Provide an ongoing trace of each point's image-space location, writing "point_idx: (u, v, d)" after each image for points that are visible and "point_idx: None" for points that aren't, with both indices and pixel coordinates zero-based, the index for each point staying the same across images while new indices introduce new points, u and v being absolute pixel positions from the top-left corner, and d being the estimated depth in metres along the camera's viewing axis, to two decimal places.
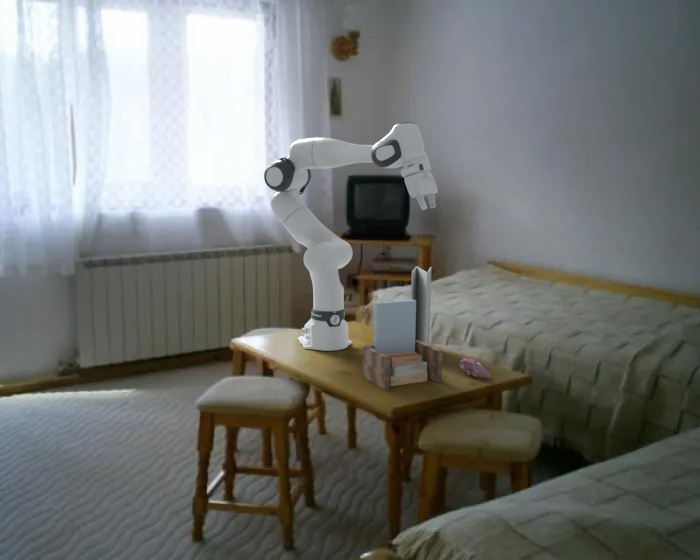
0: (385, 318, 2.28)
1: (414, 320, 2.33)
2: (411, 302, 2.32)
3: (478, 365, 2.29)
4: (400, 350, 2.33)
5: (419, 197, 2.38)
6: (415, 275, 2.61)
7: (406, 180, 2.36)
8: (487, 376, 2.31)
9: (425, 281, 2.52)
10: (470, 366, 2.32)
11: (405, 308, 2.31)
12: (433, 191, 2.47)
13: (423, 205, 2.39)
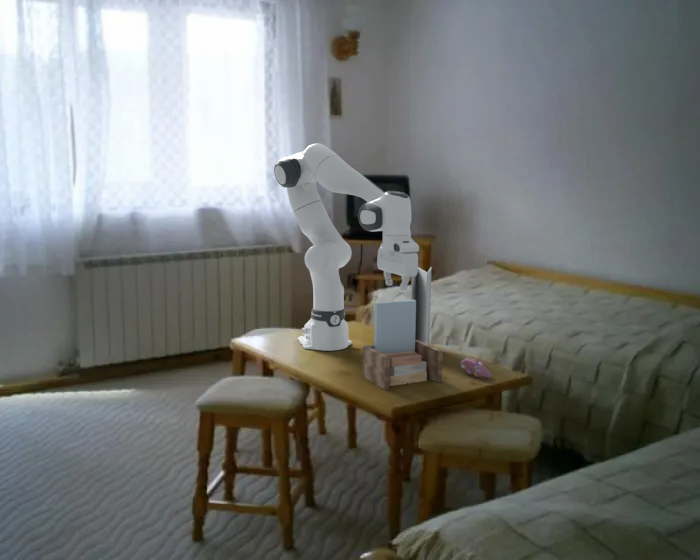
0: (385, 318, 2.28)
1: (414, 320, 2.33)
2: (411, 302, 2.32)
3: (479, 365, 2.30)
4: (400, 350, 2.33)
5: (406, 277, 2.23)
6: None
7: (407, 258, 2.19)
8: (488, 375, 2.31)
9: (425, 281, 2.52)
10: (471, 366, 2.32)
11: (405, 308, 2.31)
12: None
13: (405, 285, 2.24)
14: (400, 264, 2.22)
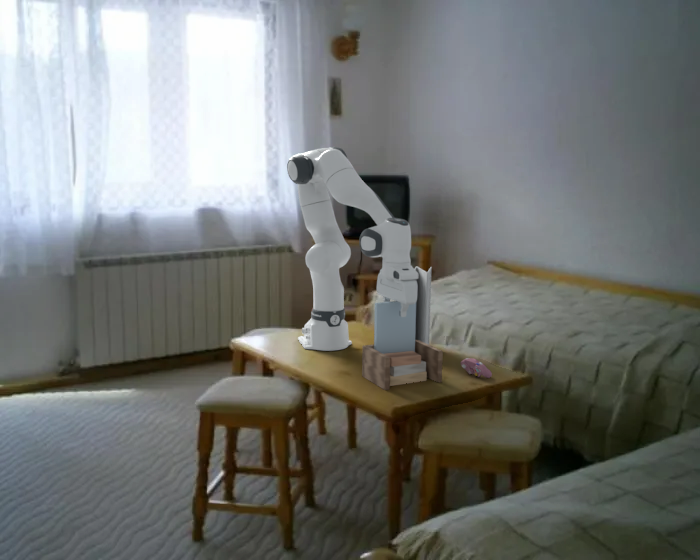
0: (385, 318, 2.28)
1: (414, 320, 2.33)
2: None
3: (480, 365, 2.30)
4: (400, 350, 2.33)
5: None
6: None
7: (406, 285, 2.20)
8: (488, 375, 2.31)
9: (425, 281, 2.52)
10: (472, 366, 2.33)
11: None
12: None
13: (404, 312, 2.26)
14: (399, 291, 2.23)
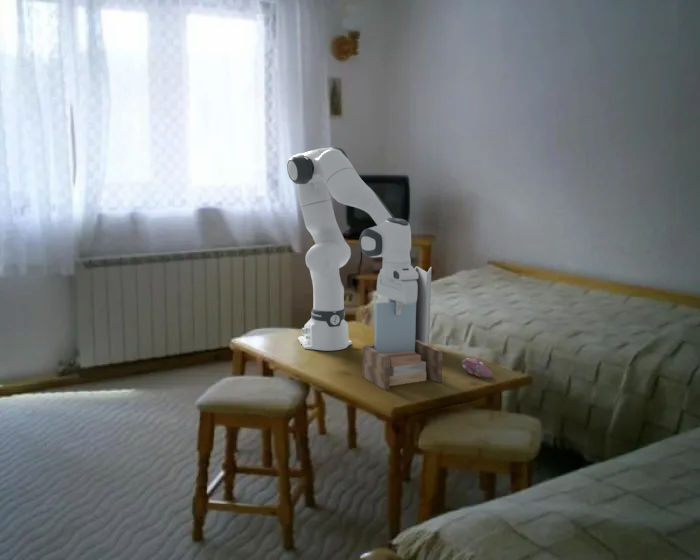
0: (385, 318, 2.28)
1: (414, 320, 2.33)
2: None
3: (480, 364, 2.30)
4: (400, 350, 2.33)
5: (401, 302, 2.27)
6: None
7: (406, 285, 2.20)
8: (489, 375, 2.31)
9: (425, 281, 2.52)
10: (472, 365, 2.33)
11: (405, 308, 2.31)
12: None
13: (399, 310, 2.29)
14: (399, 291, 2.23)
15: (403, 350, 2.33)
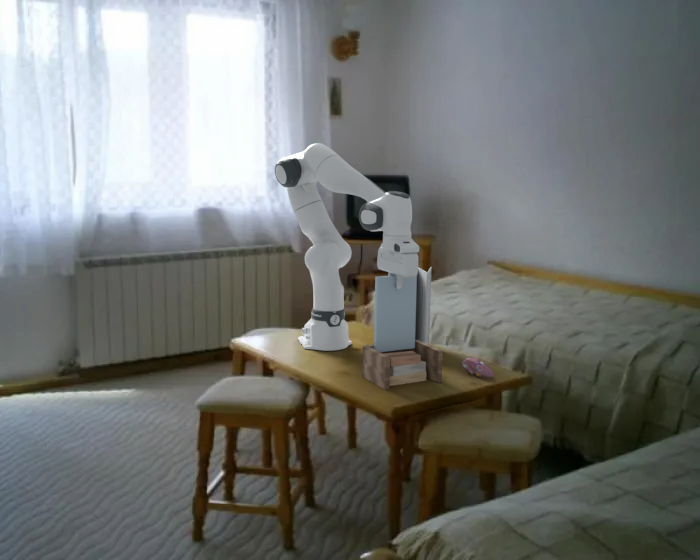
0: (385, 292, 2.27)
1: (415, 294, 2.32)
2: None
3: (481, 364, 2.30)
4: (400, 325, 2.31)
5: (401, 276, 2.26)
6: None
7: (407, 258, 2.19)
8: (490, 375, 2.31)
9: (425, 281, 2.52)
10: (473, 365, 2.33)
11: (406, 282, 2.30)
12: None
13: (400, 284, 2.27)
14: (400, 264, 2.22)
15: (403, 325, 2.32)
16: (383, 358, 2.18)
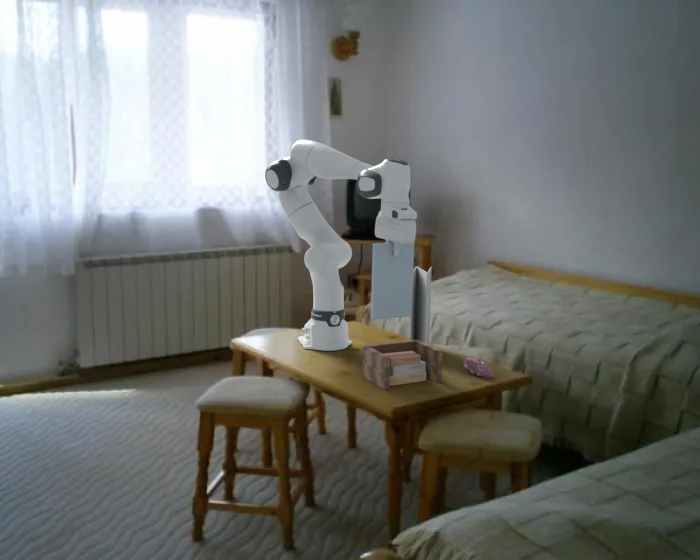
0: (383, 259, 2.28)
1: (412, 262, 2.33)
2: (409, 244, 2.31)
3: (482, 364, 2.30)
4: (397, 292, 2.32)
5: (399, 243, 2.26)
6: (415, 275, 2.61)
7: (405, 224, 2.19)
8: (490, 375, 2.32)
9: (425, 281, 2.52)
10: (474, 365, 2.33)
11: (403, 250, 2.30)
12: None
13: (397, 251, 2.28)
14: (398, 231, 2.23)
15: (400, 292, 2.33)
16: (383, 358, 2.18)
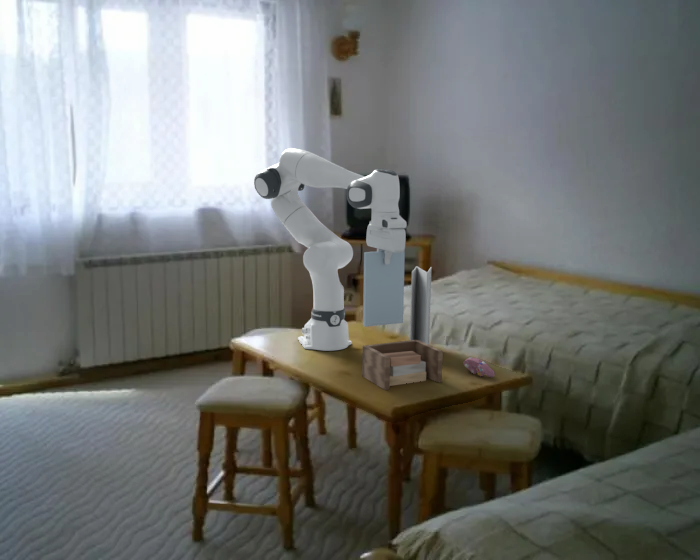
0: (374, 267, 2.33)
1: (403, 270, 2.38)
2: None
3: (483, 364, 2.31)
4: (389, 299, 2.37)
5: (389, 251, 2.32)
6: (415, 275, 2.61)
7: (394, 233, 2.25)
8: (491, 375, 2.32)
9: (425, 281, 2.52)
10: (475, 365, 2.33)
11: (394, 258, 2.36)
12: None
13: (388, 260, 2.33)
14: (388, 240, 2.28)
15: (392, 300, 2.38)
16: (383, 358, 2.18)
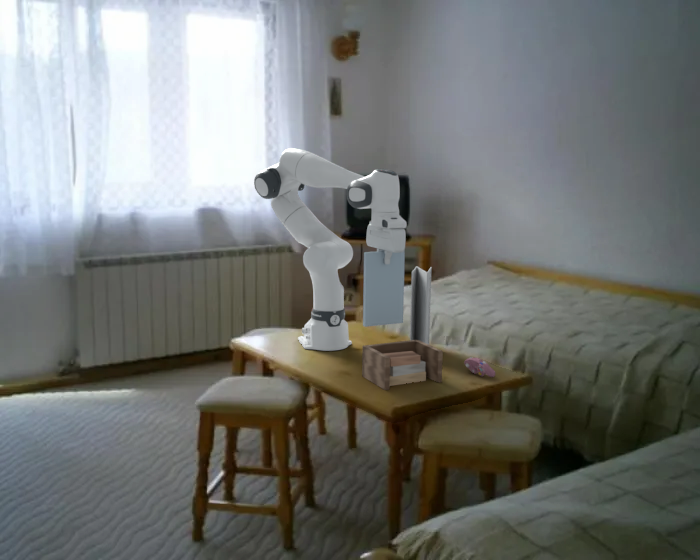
0: (374, 267, 2.33)
1: (403, 270, 2.38)
2: None
3: (483, 364, 2.31)
4: (389, 299, 2.37)
5: (389, 251, 2.32)
6: (415, 275, 2.61)
7: (394, 233, 2.25)
8: (492, 374, 2.32)
9: (425, 281, 2.52)
10: (475, 365, 2.33)
11: (394, 258, 2.36)
12: None
13: (388, 260, 2.33)
14: (388, 240, 2.28)
15: (392, 300, 2.38)
16: (383, 358, 2.18)
